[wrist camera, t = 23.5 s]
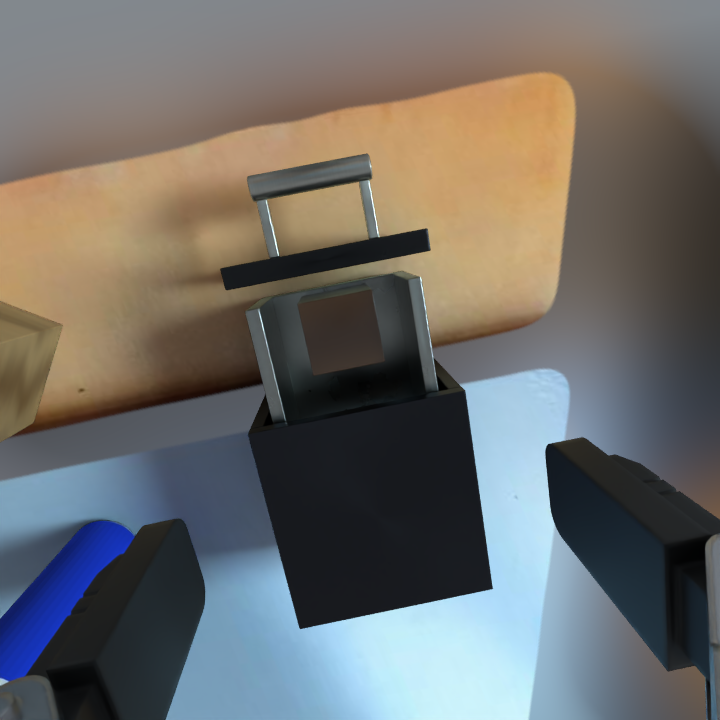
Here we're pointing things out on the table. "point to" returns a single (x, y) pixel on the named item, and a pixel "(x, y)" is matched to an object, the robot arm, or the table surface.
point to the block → (341, 329)
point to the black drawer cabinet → (375, 504)
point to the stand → (23, 365)
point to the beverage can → (56, 595)
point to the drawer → (281, 315)
